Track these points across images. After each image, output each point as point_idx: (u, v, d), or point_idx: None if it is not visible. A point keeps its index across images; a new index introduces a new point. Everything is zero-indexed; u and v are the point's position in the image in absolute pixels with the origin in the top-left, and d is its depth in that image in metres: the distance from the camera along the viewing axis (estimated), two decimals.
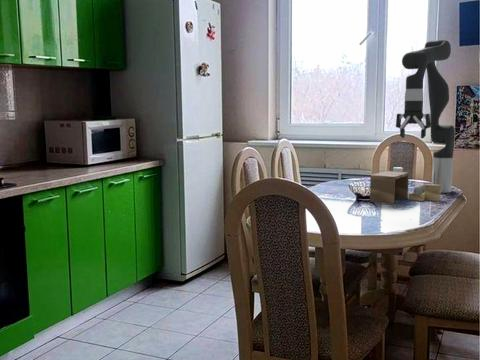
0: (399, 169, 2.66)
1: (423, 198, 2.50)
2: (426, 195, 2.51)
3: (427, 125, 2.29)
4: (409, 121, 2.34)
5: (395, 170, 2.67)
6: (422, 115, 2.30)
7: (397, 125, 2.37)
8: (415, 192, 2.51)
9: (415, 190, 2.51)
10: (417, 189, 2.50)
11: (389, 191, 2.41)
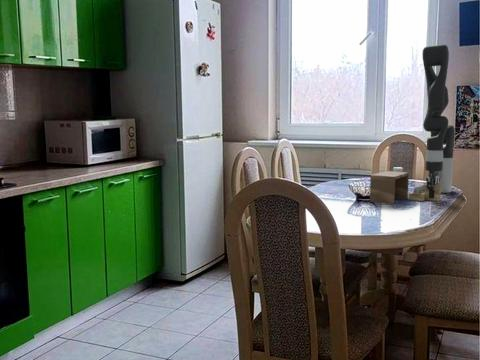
0: (399, 169, 2.66)
1: (423, 198, 2.50)
2: (426, 195, 2.51)
3: (438, 184, 2.53)
4: None
5: (395, 170, 2.67)
6: None
7: (433, 187, 2.46)
8: (415, 192, 2.51)
9: (415, 190, 2.51)
10: (417, 189, 2.50)
11: (389, 191, 2.41)
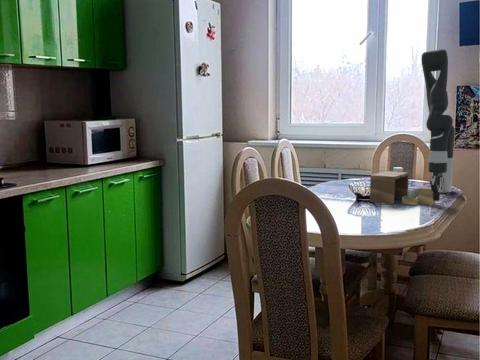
0: (399, 169, 2.66)
1: (417, 202, 2.40)
2: (420, 199, 2.41)
3: (441, 187, 2.39)
4: None
5: (395, 170, 2.67)
6: None
7: (438, 189, 2.35)
8: (408, 196, 2.41)
9: (408, 193, 2.41)
10: (410, 193, 2.40)
11: (389, 191, 2.41)
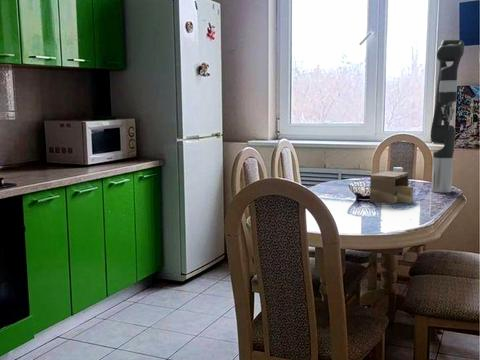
0: (399, 169, 2.66)
1: (395, 200, 2.46)
2: (398, 197, 2.47)
3: (451, 117, 2.47)
4: None
5: (395, 170, 2.67)
6: None
7: (447, 118, 2.43)
8: None
9: None
10: None
11: (389, 191, 2.41)
